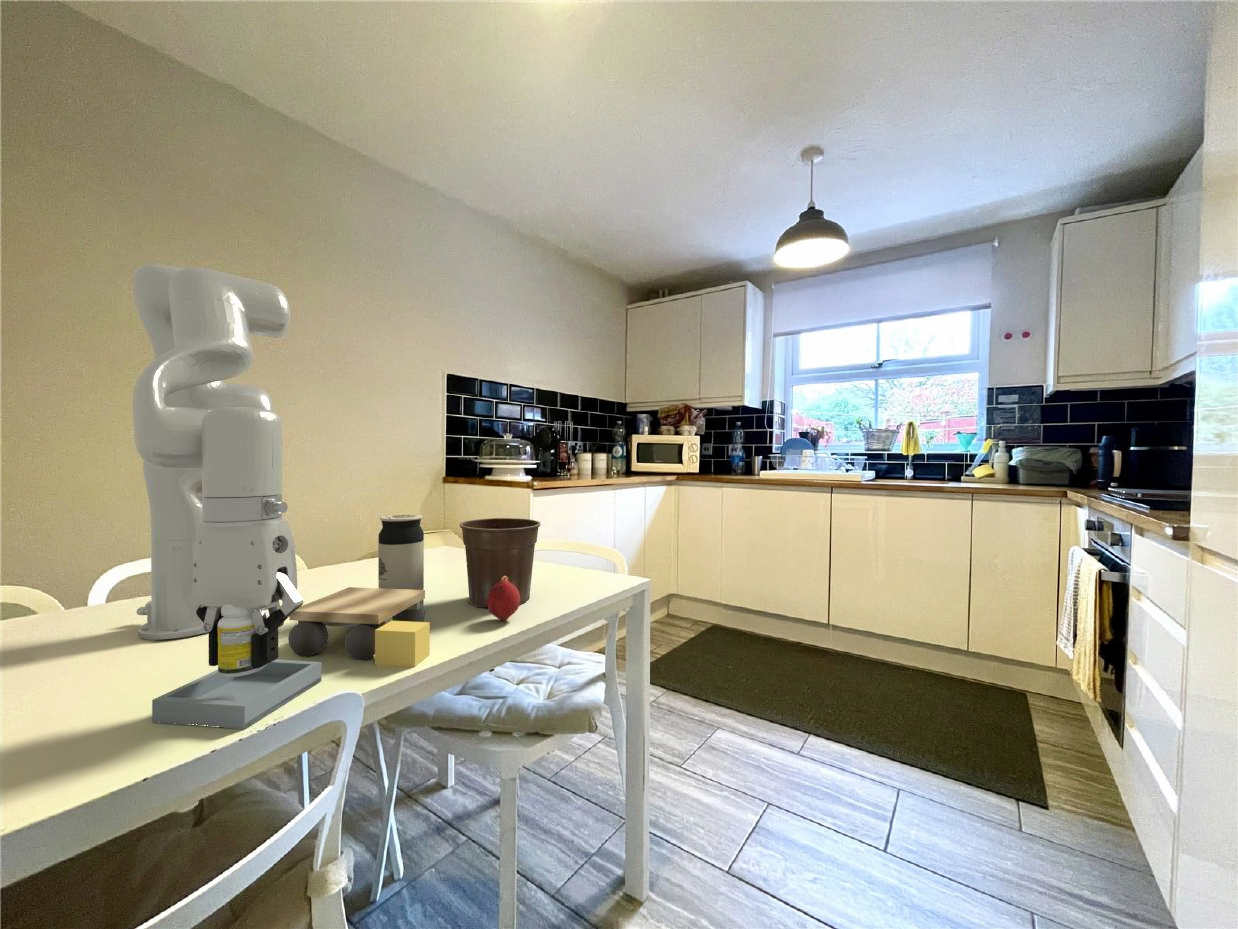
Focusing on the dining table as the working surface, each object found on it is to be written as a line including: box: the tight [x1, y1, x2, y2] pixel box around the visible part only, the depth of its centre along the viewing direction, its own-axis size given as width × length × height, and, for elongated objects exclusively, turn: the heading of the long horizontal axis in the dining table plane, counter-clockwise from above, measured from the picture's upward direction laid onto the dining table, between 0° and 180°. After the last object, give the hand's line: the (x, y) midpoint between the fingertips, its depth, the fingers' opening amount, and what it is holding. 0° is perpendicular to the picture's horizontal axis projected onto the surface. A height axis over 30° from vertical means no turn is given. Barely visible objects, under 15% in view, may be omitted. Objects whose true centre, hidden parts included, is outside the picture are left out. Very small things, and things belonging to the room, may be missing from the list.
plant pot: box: [459, 517, 542, 609], centre depth 98 cm, size 16×16×16 cm
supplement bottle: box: [217, 605, 269, 677], centre depth 57 cm, size 5×5×8 cm
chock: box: [374, 620, 431, 668], centre depth 69 cm, size 6×4×5 cm, turn 84°
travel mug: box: [377, 513, 425, 606], centre depth 92 cm, size 8×8×18 cm
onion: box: [486, 576, 521, 622], centre depth 85 cm, size 6×6×8 cm
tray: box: [151, 658, 322, 730], centre depth 57 cm, size 11×11×2 cm
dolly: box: [288, 586, 427, 661], centre depth 75 cm, size 14×13×7 cm
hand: (244, 661), depth 57 cm, fingers closed on supplement bottle, 4 cm apart
